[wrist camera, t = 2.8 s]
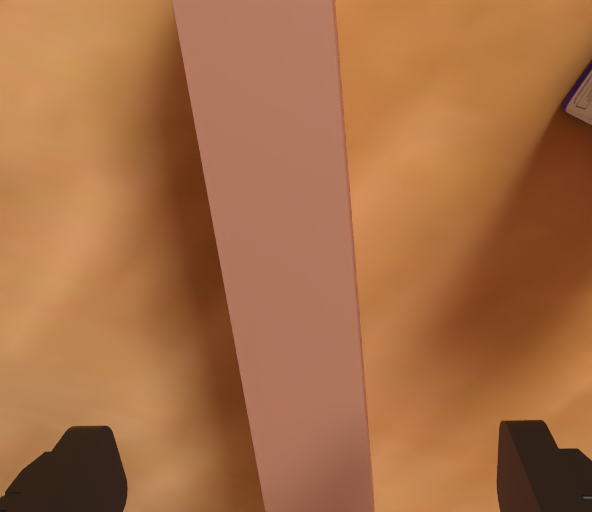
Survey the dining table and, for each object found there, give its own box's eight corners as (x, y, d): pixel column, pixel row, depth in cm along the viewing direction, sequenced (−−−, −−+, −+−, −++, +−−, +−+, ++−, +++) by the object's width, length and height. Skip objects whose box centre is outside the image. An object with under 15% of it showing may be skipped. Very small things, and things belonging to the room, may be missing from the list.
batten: (302, 487, 26) (287, 635, 19) (221, -70, 17) (146, -139, 11) (372, 486, 25) (383, 637, 19) (328, -87, 17) (318, -169, 10)
